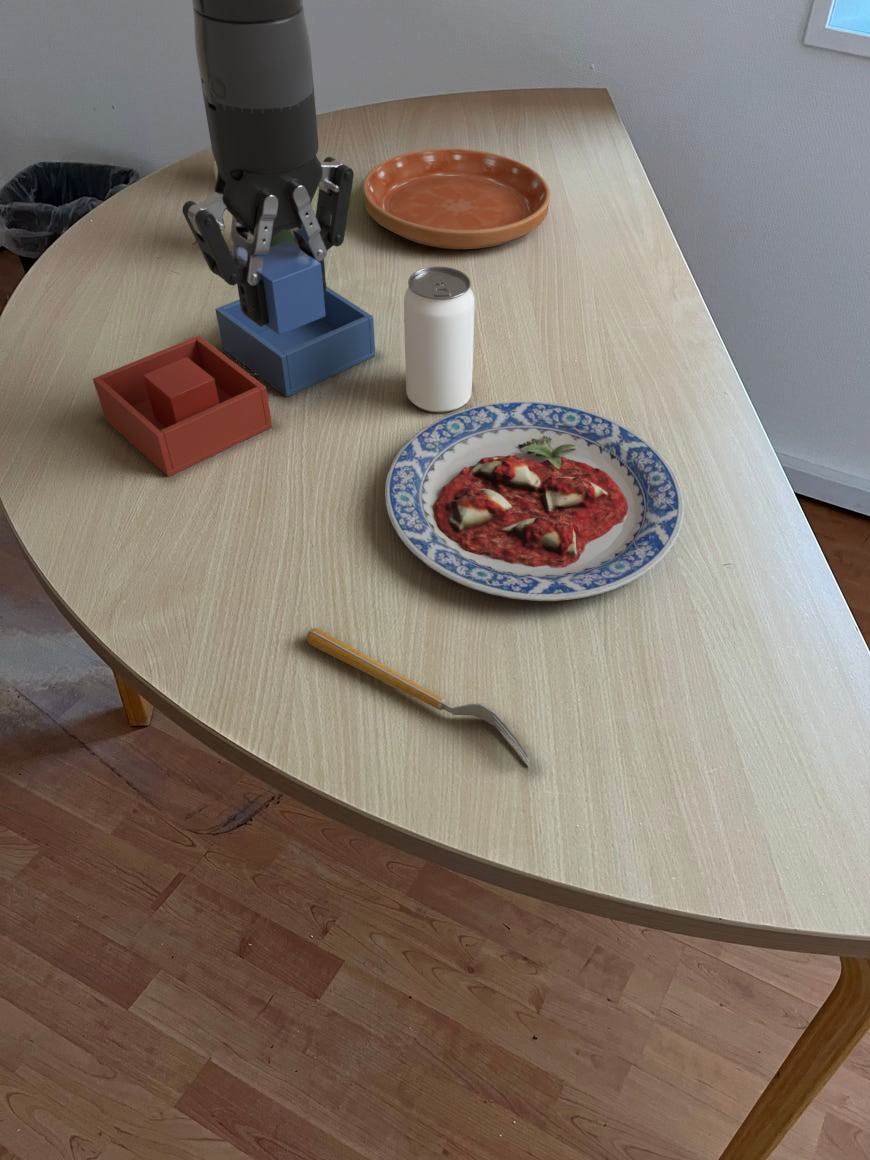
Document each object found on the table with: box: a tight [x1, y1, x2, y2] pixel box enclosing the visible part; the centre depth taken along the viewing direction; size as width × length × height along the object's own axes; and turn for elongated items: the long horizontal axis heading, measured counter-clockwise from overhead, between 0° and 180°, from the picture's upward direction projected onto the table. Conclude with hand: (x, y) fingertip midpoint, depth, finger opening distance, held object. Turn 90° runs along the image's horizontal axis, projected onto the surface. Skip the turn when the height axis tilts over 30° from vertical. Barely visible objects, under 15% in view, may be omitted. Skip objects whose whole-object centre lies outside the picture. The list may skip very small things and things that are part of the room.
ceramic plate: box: [384, 400, 685, 602], centre depth 83 cm, size 26×26×3 cm
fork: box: [306, 628, 531, 768], centre depth 70 cm, size 2×2×20 cm
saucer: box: [362, 147, 551, 250], centre depth 118 cm, size 23×23×4 cm
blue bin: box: [214, 285, 376, 398], centre depth 97 cm, size 11×11×4 cm
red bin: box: [92, 335, 273, 478], centre depth 89 cm, size 11×11×4 cm
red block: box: [143, 357, 219, 427], centre depth 88 cm, size 5×5×5 cm
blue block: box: [261, 241, 326, 335], centre depth 77 cm, size 5×5×5 cm
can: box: [403, 266, 475, 414], centre depth 90 cm, size 6×6×12 cm
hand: (285, 309), depth 78 cm, fingers closed on blue block, 4 cm apart
